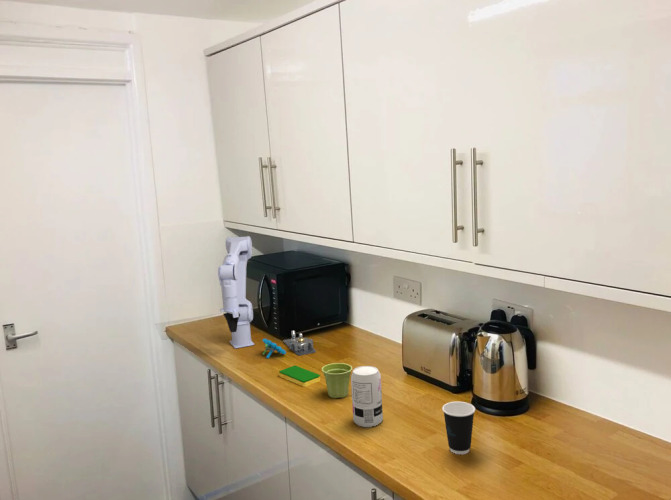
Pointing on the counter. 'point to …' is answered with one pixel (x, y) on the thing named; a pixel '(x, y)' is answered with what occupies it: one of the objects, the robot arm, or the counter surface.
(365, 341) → the counter surface
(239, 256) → the robot arm
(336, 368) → the plant pot
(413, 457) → the counter surface
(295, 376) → the dish sponge
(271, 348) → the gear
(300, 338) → the gear board
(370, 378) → the supplement can
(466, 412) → the dixie cup
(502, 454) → the counter surface
